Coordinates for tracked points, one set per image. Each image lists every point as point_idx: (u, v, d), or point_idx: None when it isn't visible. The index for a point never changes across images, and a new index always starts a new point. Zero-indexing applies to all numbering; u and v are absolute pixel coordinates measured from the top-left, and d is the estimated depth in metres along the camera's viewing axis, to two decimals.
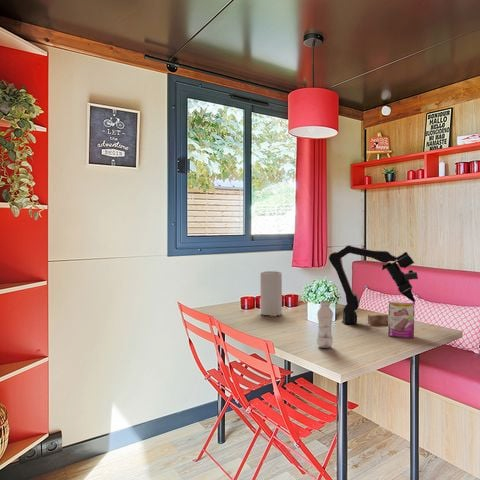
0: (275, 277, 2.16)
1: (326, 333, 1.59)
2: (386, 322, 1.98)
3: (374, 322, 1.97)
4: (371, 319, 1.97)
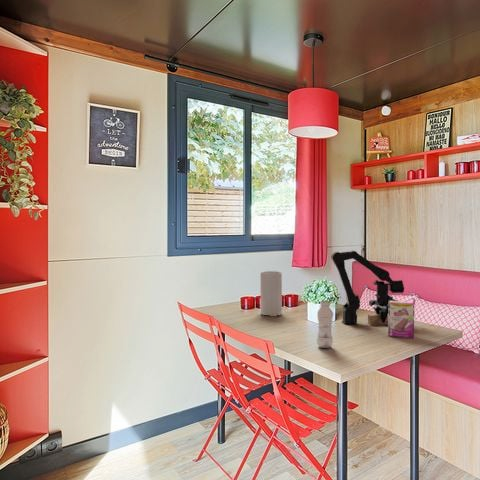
0: (275, 277, 2.16)
1: (326, 333, 1.59)
2: (386, 322, 1.98)
3: (374, 322, 1.97)
4: (371, 319, 1.97)
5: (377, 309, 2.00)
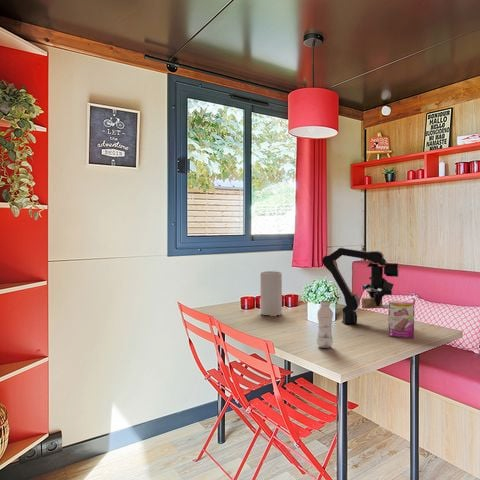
0: (275, 277, 2.16)
1: (326, 333, 1.59)
2: (380, 305, 1.93)
3: (368, 305, 1.92)
4: (365, 302, 1.91)
5: (371, 292, 1.95)
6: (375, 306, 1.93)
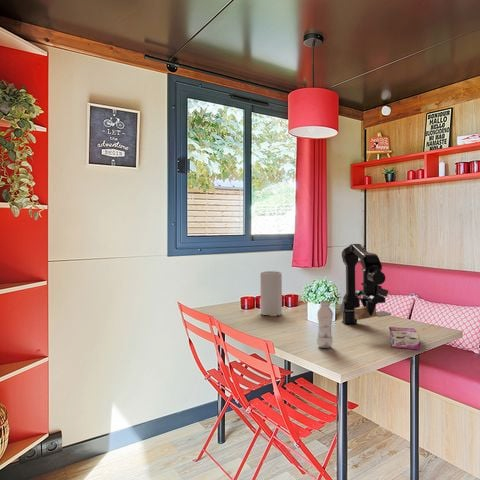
0: (275, 277, 2.16)
1: (326, 333, 1.59)
2: (374, 313, 1.74)
3: (362, 315, 1.72)
4: (359, 313, 1.71)
5: (363, 300, 1.76)
6: (369, 315, 1.73)
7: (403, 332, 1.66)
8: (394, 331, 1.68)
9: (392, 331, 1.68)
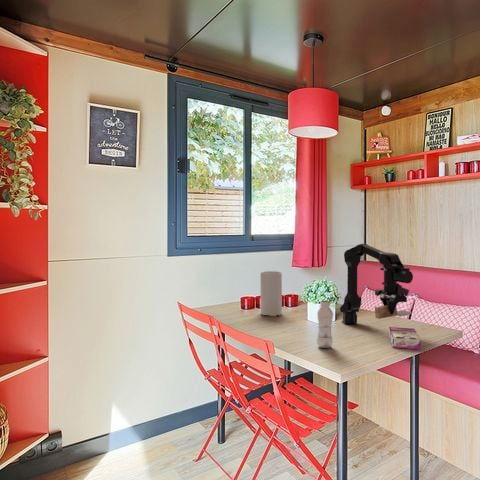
0: (275, 277, 2.16)
1: (326, 333, 1.59)
2: (395, 313, 1.75)
3: (383, 314, 1.73)
4: (379, 312, 1.73)
5: (384, 299, 1.77)
6: (390, 314, 1.74)
7: (403, 332, 1.66)
8: (394, 331, 1.68)
9: (392, 331, 1.68)
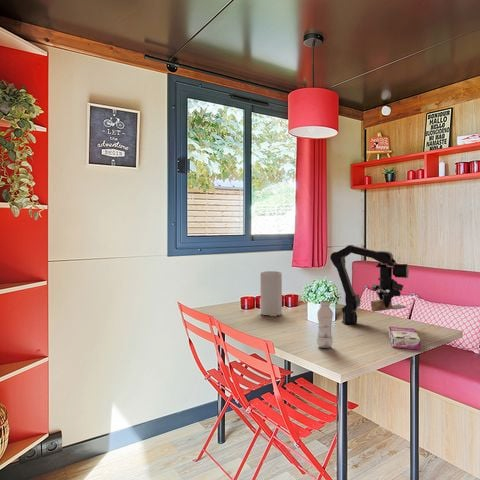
0: (275, 277, 2.16)
1: (326, 333, 1.59)
2: (390, 306, 1.89)
3: (378, 307, 1.88)
4: (375, 305, 1.87)
5: (380, 293, 1.91)
6: (385, 308, 1.88)
7: (403, 332, 1.66)
8: (394, 331, 1.68)
9: (392, 331, 1.68)
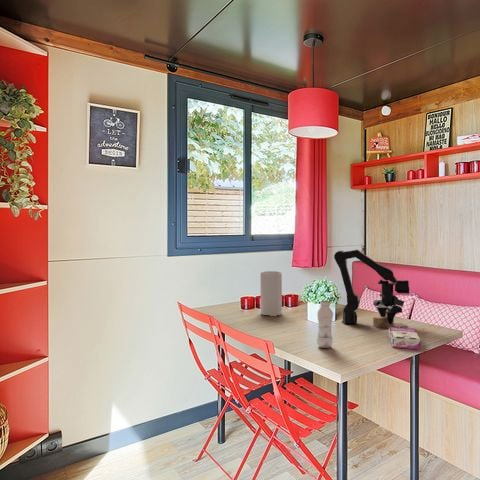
0: (275, 277, 2.16)
1: (326, 333, 1.59)
2: (391, 324, 1.93)
3: (380, 324, 1.92)
4: (377, 322, 1.91)
5: (380, 308, 1.97)
6: (386, 325, 1.92)
7: (403, 332, 1.66)
8: (394, 331, 1.68)
9: (392, 331, 1.68)
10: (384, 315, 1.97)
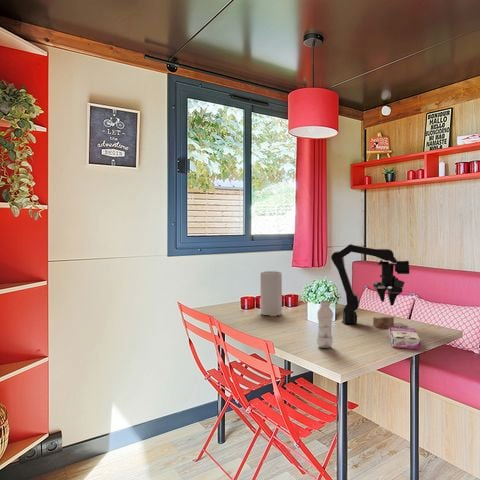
0: (275, 277, 2.16)
1: (326, 333, 1.59)
2: (391, 324, 1.93)
3: (380, 324, 1.92)
4: (377, 322, 1.91)
5: (379, 289, 1.98)
6: (386, 325, 1.92)
7: (403, 332, 1.66)
8: (394, 331, 1.68)
9: (392, 331, 1.68)
10: (383, 296, 1.98)
